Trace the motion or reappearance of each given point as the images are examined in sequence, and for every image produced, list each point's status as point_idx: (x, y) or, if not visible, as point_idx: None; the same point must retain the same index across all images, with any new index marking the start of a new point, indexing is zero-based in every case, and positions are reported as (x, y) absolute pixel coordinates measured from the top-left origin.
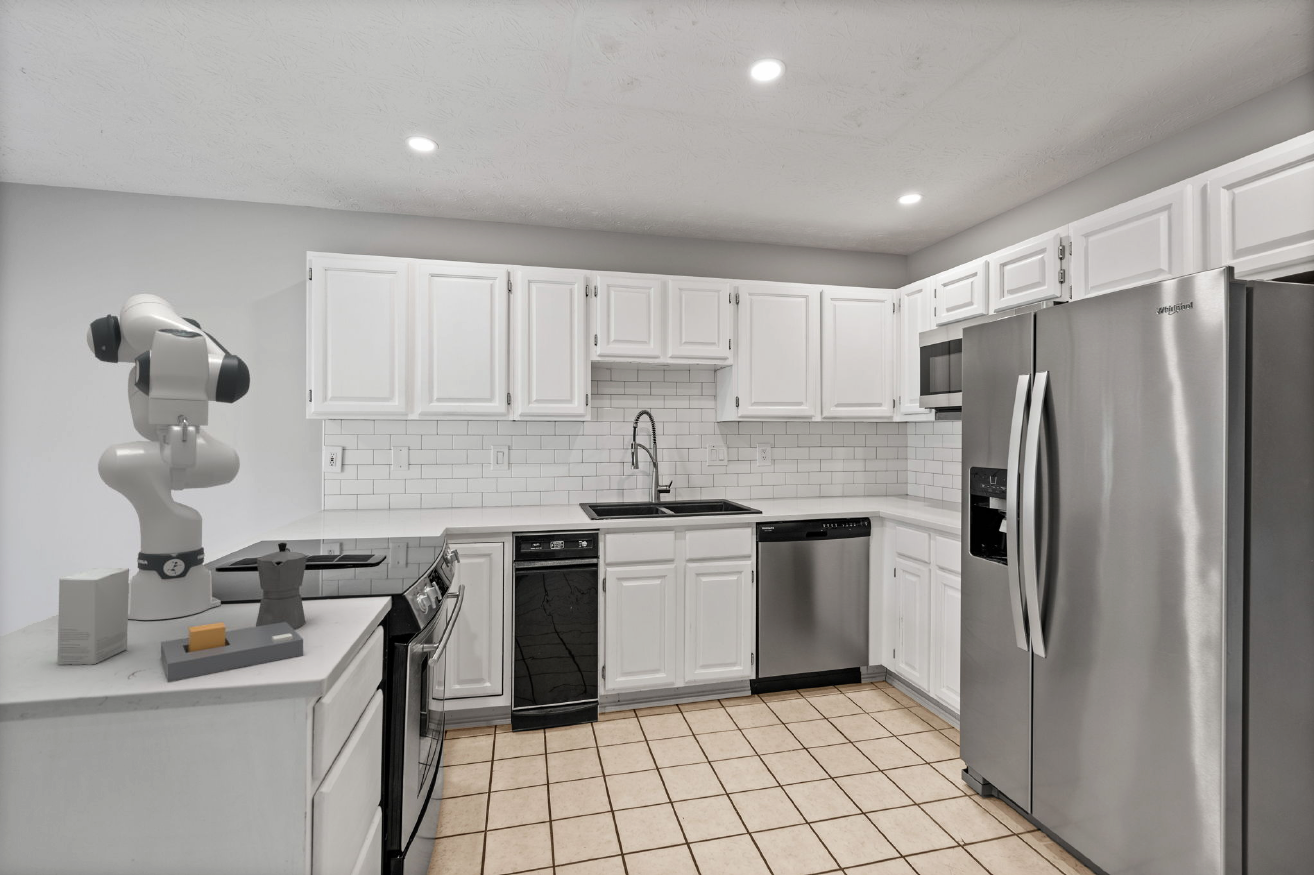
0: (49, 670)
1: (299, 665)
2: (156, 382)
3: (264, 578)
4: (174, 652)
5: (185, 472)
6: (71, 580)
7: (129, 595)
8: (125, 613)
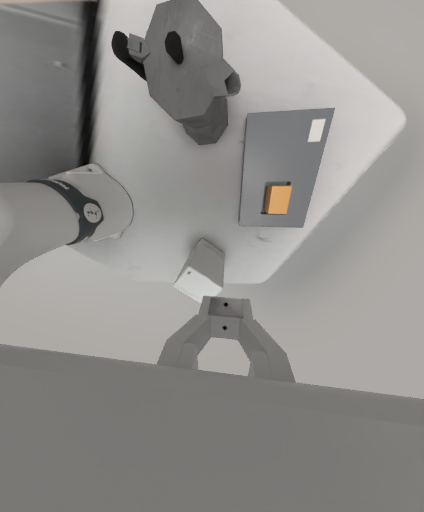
0: None
1: (352, 125)
2: None
3: (207, 119)
4: (276, 221)
5: (282, 352)
6: None
7: (107, 237)
8: (200, 249)
